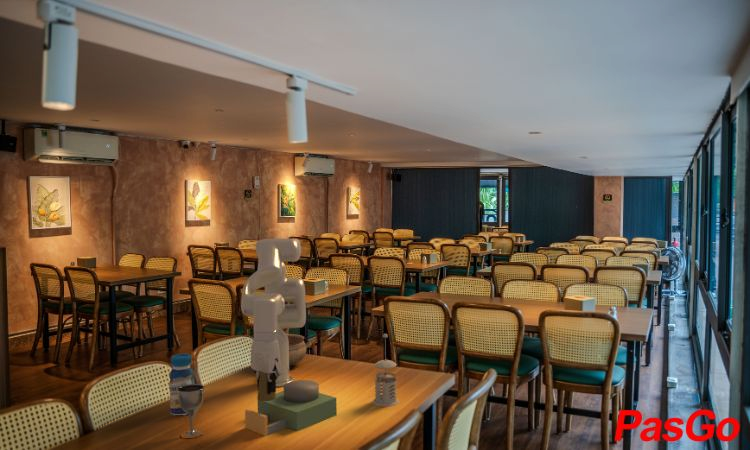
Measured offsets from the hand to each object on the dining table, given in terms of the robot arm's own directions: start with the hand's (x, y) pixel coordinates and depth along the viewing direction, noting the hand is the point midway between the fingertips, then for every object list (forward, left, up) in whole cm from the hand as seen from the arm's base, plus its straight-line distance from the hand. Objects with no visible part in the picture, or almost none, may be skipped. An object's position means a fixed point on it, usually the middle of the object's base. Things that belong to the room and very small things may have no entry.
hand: (266, 390), depth 193 cm
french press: (+15, +42, -12) cm, 46 cm away
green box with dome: (0, +9, -12) cm, 15 cm away
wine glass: (-14, -19, -12) cm, 27 cm away
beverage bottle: (-34, -10, -12) cm, 38 cm away
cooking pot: (-50, +51, -12) cm, 73 cm away
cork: (0, 0, -2) cm, 2 cm away
